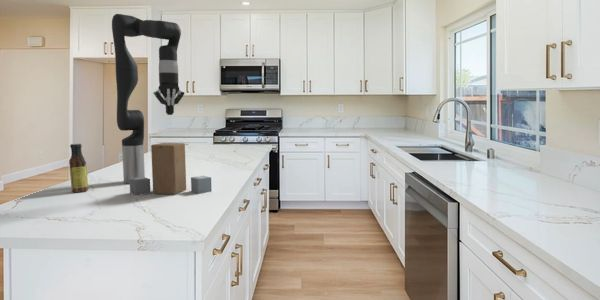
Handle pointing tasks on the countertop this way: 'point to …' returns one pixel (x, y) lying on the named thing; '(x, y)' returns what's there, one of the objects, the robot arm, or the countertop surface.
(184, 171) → the wooden block
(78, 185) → the sauce bottle
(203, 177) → the slate marked block
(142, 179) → the charcoal marked block
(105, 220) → the countertop surface
